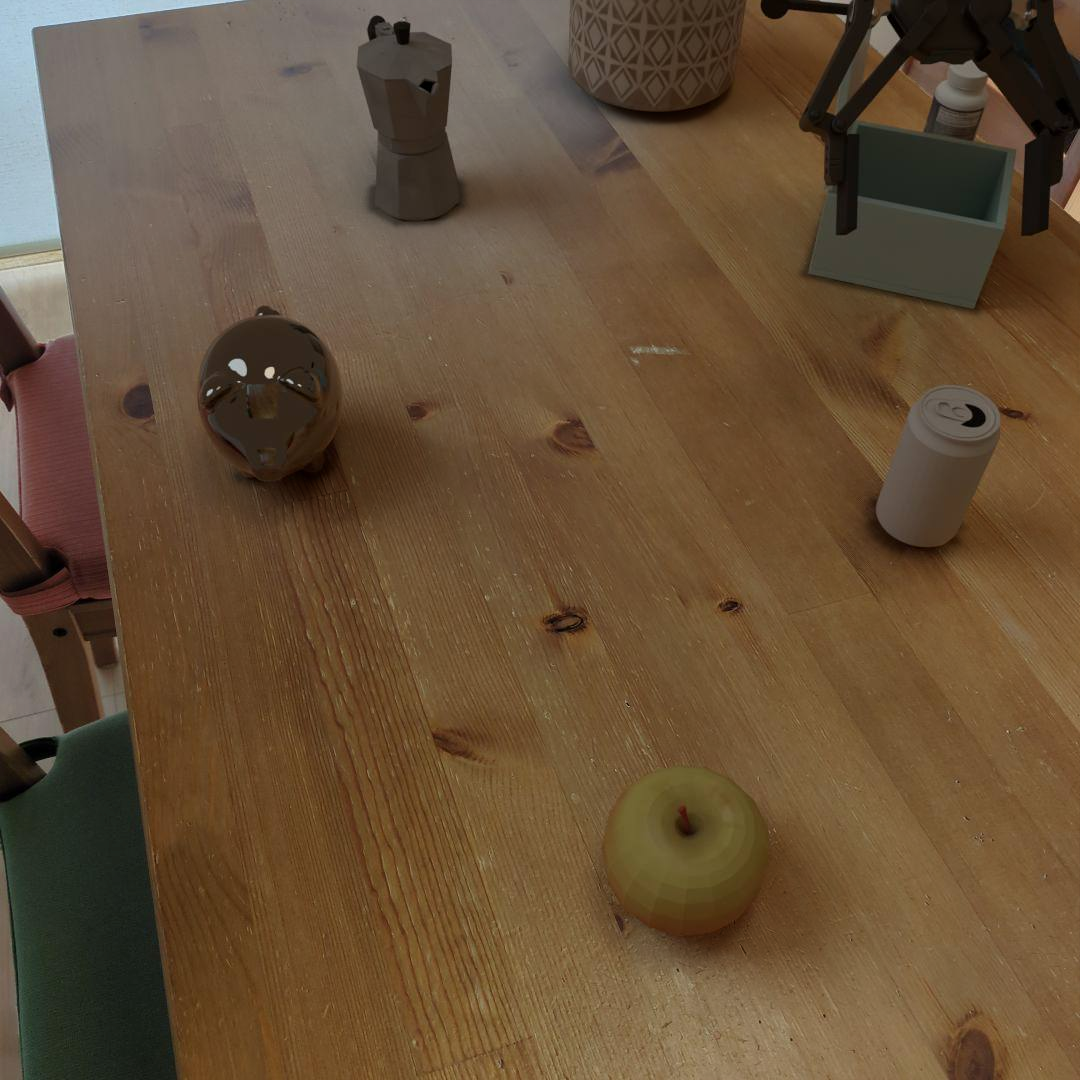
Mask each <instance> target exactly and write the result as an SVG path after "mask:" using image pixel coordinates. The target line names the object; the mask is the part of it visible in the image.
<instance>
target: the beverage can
mask: <svg viewBox="0 0 1080 1080" xmlns="http://www.w3.org/2000/svg"><path fill="white" fill-rule="evenodd" d="M1000 426H1001V413H1000V411H999V409H998V407H997V406H996V404H995V403H994V402H993V401H992V399H990V398H989V397H988V396H987V395H985V394H983V393H982V392H980V391H978V390H976V389H974V388H971V387H969V386H964V385H959V384H942V385H937V386H933V387H931V388H929V389H928V390H926V391H924V393H922V394H921V396H920V398H919V399H918V400H917V401H916V402H915V403H913V404H912V406H911V407H910V409H909V411H908V414H907V417H906V419H905V422H904V426H903V428H902V431H901V433H900V436H899V439H898V441H897V445H896V448H895V450H894V454H893V456H892V459H891V461H890V465H889V467H888V470H887V472H886V476H885V479H884V481H883V484H882V486H881V490H880V493H879V495H878V498H877V501H876V503H875V514H876V518H877V521H878V522H879V524H880V526H881V527H882V529H884V530H885V532H887V534H889V535H890V536H891V537H893V538H894V539H896V540H897V541H900V542H901V543H904V544H906V545H910V546H913V547H920V548H933V547H937V546H942V545H944V544H946V543H948V542H949V541H950V540H952V539H954V537H955V536H956V535H957V534H958V531H959V530H960V527H961V525H962V522H963V520H964V518H965V516H966V514H967V512H968V509H969V507H970V506H971V503H972V500H973V499H974V496H975V494H976V492H977V490H978V487H979V485H980V483H981V481H982V479H983V476H984V475H985V472H986V470H987V468H988V465H989V463H990V461H991V459H992V457H993V455H994V452H995V450H996V448H997V446H998V443H999V441H1000V438H1001V428H1000Z"/></svg>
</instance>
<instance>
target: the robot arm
mask: <svg viewBox="0 0 1080 1080" xmlns="http://www.w3.org/2000/svg"><path fill="white" fill-rule="evenodd" d="M848 4H849V5H848V10H847V15H846V18H845V26H844V31H843V34H842V36H841V37H840V40H839V41H838V44H837V45H836V48H835V49H834V52H833V53H832V55H831V58H830V59H829V61H828V64H827V65H826V67H825V69H824V71H823V73H822V75H821V77H820V79H819V81H818V83H817V85H816V87H815V88H814V91H813V93H812V94H811V97H810V99H809V101H808V103H807V105H806V107H805V109H804V111H803V112H802V115H801V116H800V119H799V121H798V127H799V129H800V130H801V131H802V132H803V133H812V134H815V135H817V136H819V137H820V141H821V142H822V143H823V144H824V152H823V153H824V155H823V157H824V159H823V180H824V182H825V183H826V186H837V206H836V235H847V234H849V233H851V232H852V231H854V230H856V229H857V208H858V174H859V140H860V134H848V135H847V130H848V128H849V127H850V126H851V125H852V124H853V123H854V121H855V120H858V118H859V117H860V116H861V115H862V113H864V111H865V110H866V109H867V108H868V107H869V105H870V104H871V103H872V101H873V100H875V98H876V97H877V96H878V95H879V93H880V92H881V91H882V90H883V88H884V87H885V86H886V85H887V84H888V83H889V81H891V79H892V78H893V77H894V76H895V75H896V73H897V72H899V70H900V69H901V68H902V66H903V65H904V64H905V63H906V61H907V60H908V59H909V58H910V57H912V58H913V59H914V60H916V61H917V62H919V65H934V64H938V63H945V64H949V65H950V64H952V65H963V64H964V63H966V62H967V61H970V60H972V61H973V62H974V64H975V65H976V66H977V68H978V69H979V70H980V71H982V72H985V73H986V74H987V75H988V78H989V79H990V80H991V82H993V84H994V85H995V87H996V88H997V89H998V91H999V92H1000V93H1001V94H1002V96H1003V97H1004V98H1005V100H1006V101H1007V102H1008V104H1009V105H1010V106H1011V107H1012V109H1013V110H1014V112H1015V113H1016V114H1017V115H1018V116H1019V118H1020V119H1021V120H1022V122H1023V123H1024V124H1025V125H1026V127H1027V128H1028V130H1029V131H1030V132H1031V133H1032V135H1033V136H1034V137H1035V138H1034V139H1032V140H1030V141H1029V142H1027V143H1025V144H1024V157H1023V158H1024V159H1023V180H1022V204H1021V205H1022V206H1021V225H1020V226H1021V228H1020V237H1033V236H1035V235H1039V234H1040V233H1043V232H1045V231H1048V230H1049V227H1050V226H1049V225H1050V224H1049V223H1050V203H1051V188H1052V187H1054V186H1055V185H1058V184H1060V183H1061V180H1062V178H1063V176H1064V159H1065V158H1064V157H1065V142H1066V141H1065V140H1066V137H1067V136H1068V135H1070V134H1074V133H1075V132H1078V131H1079V130H1080V76H1079V74H1078V73H1077V70H1076V68H1075V66H1074V62H1073V61H1072V58H1071V56H1070V54H1069V51H1068V49H1067V46H1066V45H1065V43H1064V40H1063V38H1062V35H1061V33H1060V31H1059V28H1058V25H1057V24H1056V21H1055V7H1054V0H851V1H850V2H849V3H848ZM882 17H886V19H887V22H888V23H889V24H890V26H891V27H892V29H893V30H894V32H895V33H896V36H898V38H899V40H898V41H897V42H896V43H895V45H894V46H893V47H892V48H891V49H890V50H889V51H888V53H886V55H885V56H884V57H883V59H882V60H881V62H880V63H878V65H877V66H876V67H875V68H874V70H873V71H872V72H871V73H870V75H868V77H867V78H866V79H865V80H864V81H863V83H862V85H861V86H860V87H859V89H858V90H857V91H856V92H855V93H854V94H853V96H852V97H851V98H850V99H849V100H848V102H847V103H846V104H845V105H844V106H843V107H842V109H841V110H840V111H839V112H838V113H837V115H835V114H833V113H830V112H829V111H828V110H829V108H830V106H831V104H832V102H833V100H834V98H835V96H836V95H837V93H838V91H839V87H840V84H841V83H842V81H843V79H844V77H845V75H846V73H847V71H848V69H849V67H850V65H851V63H852V61H853V59H854V57H855V55H856V53H857V51H858V49H859V47H860V45H861V43H862V41H863V39H864V37H865V35H866V33H867V31H868V29H872V30H873V28H875V26H877V24H878V23H879V22H880V20H881V18H882ZM1008 18H1010V19H1011V20H1013V22H1014V28H1015V29H1016V30H1018V31H1020V32H1021V34H1022V40H1023V42H1024V45H1025V48H1026V50H1027V52H1028V55H1029V57H1030V59H1031V62H1032V64H1033V67H1034V69H1035V72H1036V73H1037V76H1038V78H1039V80H1040V83H1041V84H1040V83H1039V82H1038V80H1037V79H1036V77H1035V76H1034V75H1033V73H1032V72H1031V71H1030V70H1029V68H1028V67H1027V66H1026V64H1025V63H1024V62H1023V61H1022V59H1021V58H1020V57H1019V55H1018V53H1017V52H1016V51H1015V46H1014V43H1013V41H1012V39H1011V38H1010V37H1009V36H1008V34H1007V33H1006V32H1005V30H1004V29H1003V28H1002V26H1003V24H1004V23H1005V21H1006V20H1007V19H1008Z"/></svg>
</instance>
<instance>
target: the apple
mask: <svg viewBox="0 0 1080 1080" xmlns="http://www.w3.org/2000/svg"><path fill="white" fill-rule="evenodd" d="M603 835H604V836H603V841H602V846H601V851H602V858H603V864H604V868H605V874H606V878H607V883H608V886H609V887H610V888H611V890H612V892H613V894H614V895H615V896H616V898H617V899H618V901H619V903H620V904H621V906H622V907H623V909H624V910H625V911H627V912H628V913H629V914H631V915H632V916H633V917H634V918H636V919H637V920H639V921H640V922H641V923H643V924H644V925H646V926H647V927H648V928H651V929H655V930H658V931H660V932H661V931H662V932H665V933H668V934H673V935H676V936H679V937H681V936H691V935H703V934H704V935H705V934H711V933H713V932H715V931H718V930H720V929H721V928H723V927H725V926H727V925H729V924H731V923H734V922H736V921H737V920H738V919H739V918H741V916H742V915H743V913H744V912H745V911H747V909H748V907H749V906H750V905H751V904H752V903H753V902H754V901H755V900H756V898H757V897H758V895H759V894H760V892H761V889H762V886H763V882H764V880H765V876H766V873H767V869H768V866H769V863H770V857H771V849H770V842H769V841H770V839H769V830H768V825H767V823H766V821H765V818H764V817H763V815H762V812H761V811H760V809H759V807H758V805H757V803H756V801H755V800H754V798H753V797H751V796H750V795H749V794H748V793H747V792H746V791H745V790H744V789H743V788H742V787H740V785H738V783H736V782H735V781H734V780H733V779H732V778H731V777H729V776H727V775H724V774H722V773H720V772H718V771H716V770H713V769H711V768H709V767H706V766H699V765H690V764H689V765H686V764H675V765H671V766H667V767H663V768H659V769H656V770H652V771H649V772H647V773H645V774H644V775H643V776H641V777H640V778H638V779H637V780H635V781H634V782H632V783H631V784H629V785H628V786H626V787H625V788H624V790H622V793H621V794H620V796H618V798H617V800H616V801H615V802H614V804H613V806H612V807H611V809H610V810H609V812H608V816H607V819H606V825H605V831H604V834H603Z"/></svg>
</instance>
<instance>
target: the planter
mask: <svg viewBox="0 0 1080 1080" xmlns="http://www.w3.org/2000/svg"><path fill="white" fill-rule="evenodd" d="M747 1H748V0H569V18H568V21H569V23H568V57H567V58H568V59H567V60H568V62H567V64H568V65H567V66H568V70H569V74H570V75H571V77H572V79H573V81H574V82H575V84H576V85H577V86H578V87H579V88H580V89H581V90H583V91H584V92H585V93H586V94H588V95H590V96H591V97H593V98H595V99H597V100H599V101H601V102H603V103H607V104H609V105H612V106H615V107H618V108H623V109H628V110H634V111H640V112H641V111H642V112H674V111H675V112H676V111H681V110H686V109H691V108H695V107H698V106H703V105H704V104H707V103H709V102H711V101H713V100H715V99H717V98H719V97H720V96H721V95H723V94H724V92H726V91H727V90H728V89H729V88H730V87H731V85H732V84H733V82H734V80H735V77H736V73H737V68H738V60H739V54H740V47H741V41H742V33H743V28H744V21H745V20H744V19H745V14H746V13H745V12H746V7H747Z"/></svg>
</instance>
